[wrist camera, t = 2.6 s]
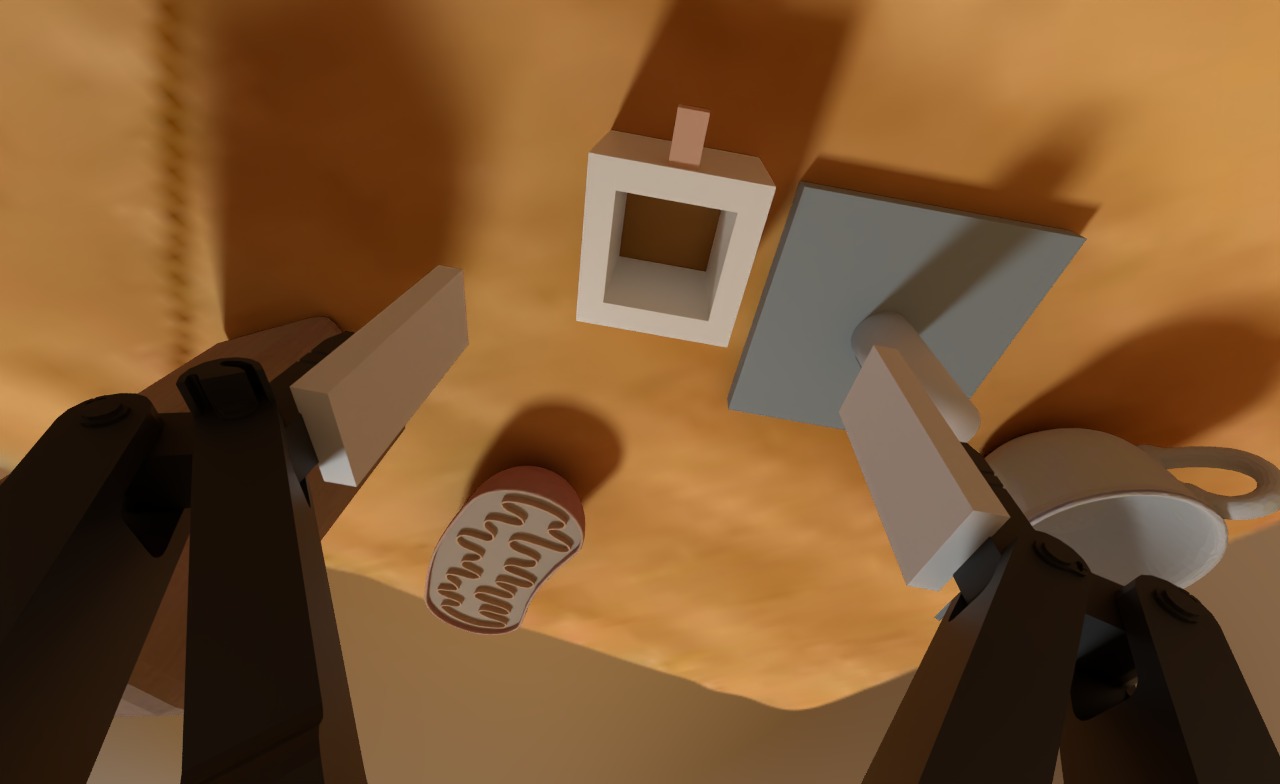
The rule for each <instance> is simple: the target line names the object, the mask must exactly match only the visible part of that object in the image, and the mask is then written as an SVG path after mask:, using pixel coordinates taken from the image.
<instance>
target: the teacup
mask: <svg viewBox="0 0 1280 784" xmlns="http://www.w3.org/2000/svg"><path fill="white" fill-rule="evenodd" d="M984 459H985V460H986V461H987V463H988V464H989V466H990V467H991V468H992V470H993V471H994V476H997V477H998V478H999V480H1000V481H1001V483H1002V484H1003V485H1004V486H1003V488H1005V489H1006V490H1007V491H1008V493H1009V494H1010V495H1011V497H1012V498H1013V500H1014V501H1015V502H1016V504H1017V505H1018V507H1019V508H1020V509H1021V511H1022V512H1023V514H1024V515H1025V517H1026V518H1027V519H1028V521H1029V522H1030V524H1031V525H1032V526H1033V528H1034V529H1035V530H1037V531H1041V532H1045V533H1047V534H1049V535H1051V536H1054V537H1056V538H1058V539H1060V540H1061V541H1062V542H1064V543H1065V544H1067V545H1068V546H1070V547H1071V548H1072V549H1074V550H1075V551H1076V552H1077V553H1078V554H1079V555H1080V556H1081V557H1082V558H1083V559H1084V561H1085V562H1086V564H1087V565H1088V567H1089V568H1090V570H1091V573H1094V574H1096V575H1099V576H1101V577H1103V578H1106V579H1108V580H1111V581H1113V582H1116V583H1118V584H1121V585H1123V586H1125V585H1127V584H1128V583H1130V582H1131V581H1132V580H1134V579H1135V578H1137V577H1138V576H1140V575H1153V576H1156V577H1158V578H1161V579H1164V580H1167V581H1169V582H1171V583H1172V584H1174V585H1176V586H1178V587H1181V588H1182V589H1184V588H1185V587H1187V586H1189V585H1191V584H1193V583H1194V582H1196V581H1197V580H1199V579H1200V578H1201V577H1203V576H1204V575H1206V574H1207V573H1208V572H1209V571H1210V570H1211V569H1213V568H1214V567H1215V565H1216V564H1217V563H1218V562H1219V561H1220V560H1221V558H1222V556H1223V555H1224V553H1225V550H1226V547H1227V543H1228V529H1227V525H1226V523H1225V522H1224V520H1223V519H1230V520H1239V519H1255V518H1260V517H1265V516H1267V515H1270V514H1272V513H1274V512H1277V511H1278V510H1279V509H1280V470H1279V469H1278V468H1277V467H1276V466H1275V465H1273V464H1272V463H1270V462H1268V461H1267V460H1265V459H1263V458H1261V457H1259V456H1257V455H1254V454H1252V453H1249V452H1245V451H1241V450H1237V449H1232V448H1222V447H1195V446H1190V447H1171V448H1160V447H1156V446H1152V445H1145V444H1141V445H1137V446H1135V445H1133V444H1131V443H1130V442H1128V441H1126V440H1124V439H1122V438H1119V437H1117V436H1115V435H1112V434H1109V433H1106V432H1102V431H1097V430H1091V429H1084V428H1059V429H1051V430H1045V431H1040V432H1035V433H1030V434H1026V435H1023V436H1020V437H1017V438H1015V439H1013V440H1010V441H1008V442H1006V443H1004V444H1003V445H1001V446H1000V447H998V448H997V449H995V450H994V451H993V452H992V453H990V454H989V455H988V456H987V457H985V458H984ZM1185 467H1209V468H1221V469H1227V470H1233V471H1237V472H1241V473H1243V474H1246V475H1248V476H1250V477H1252V478H1254V479H1255V480H1256V482H1257V488H1256V489H1255V490H1254V491H1252V492H1250V493H1248V494H1245V495H1239V496H1231V497H1229V496H1223V495H1217V494H1213V493H1210V492H1207V491H1205V490H1203V489H1201V488H1199V487H1197V486H1195V485H1193V484H1190V483H1183V482H1181V481H1179V480H1178V479H1176V478H1175V477H1174V476H1173V475H1172V474H1171V473H1170V472H1169V471H1167V470H1166V469H1173V468H1185Z"/></svg>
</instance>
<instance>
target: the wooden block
mask: <svg viewBox="0 0 1280 784" xmlns="http://www.w3.org/2000/svg"><path fill="white" fill-rule="evenodd" d="M340 333H342V332H341V330H340V329H339V327H338V326H337V325H336V324H335V323H334V322H333V321H331V320H330V319H329V318H327V317H313V318H308V319H304V320H301V321H297V322H293V323H290V324H286V325H282V326H279V327H275V328H272V329H268V330H264V331H261V332H257V333H254V334H250V335H246V336H243V337H239V338H235V339H232V340H228V341H225V342H221V343H218V344H216V345H214V346H213V347H211V348H210V349H208V350H206V351H205V352H203V353H202V354H200V355H198V356H197V357H195V358H194V359H192V360H190V361H189V362H187V363H186V364H184V365H183V366H181V367H179V368H178V369H176V370H175V371H173V372H171V373H170V374H168V375H167V376H165V377H163V378H162V379H160V380H159V381H157V382H155V383H154V384H152V385H151V386H149V387H147V388H146V389H144V390H143V391H141V392H140V393H138V394H139V395H142V396H146V397H147V398H148V399H149V400H150V401H151V402H152V404H153V405H154V407H155V409H156V410H157V412H158V413H180V412H190V410H189V408H188V406H187V404H186V402H185V401H184V399H183V397H182V395H181V393H180V391H179V390H178V388H177V386H176V382H177V380H178V378H179V376H180V375H182V374H183V373H184V372H186V371H187V370H188V369H190V368H192V367H194V366H197V365H199V364H201V363H204V362H207V361H211V360H216V359H220V358H231V357H240V358H249V359H252V360H255V361H257V362H259V363H260V364H261V365H262V367H263V369H264V371H265V374H266V376H267V379H268V381H269V382H271V381H272V380H273V379H274V378H276V377H277V376H278V375H280V374H281V373H282V372H284V371H285V370H286V369H287V368H289V367H290V366H291V365H293V364H294V363H295V362H299V361H300V358H302V357H303V356H304V355H306V354H307V353H308V352H310V353H311V350H312V349H313V348H315V347H316V346H317V345H319V344H320V343H321V342H323V341H324V340H325V339H327V338H330V337H332V336H335V335H337V334H340ZM404 429H405V426H404V427H403V429H402V430H401V431H400V432H399V434H398V435H397V436H396V437H395V439H394V440H393V441H392V443H391V444H390V445H389V446H388V448H387V449H386V450H385V451H384V453H383V454H382V455H381V457H380V458H379V459H378V460H377V462H376V463H375V464H374V465H373V467H372V468H371V469H370V471H369V472H368V473H367V474H366V476H365V477H364V478H363V479H362V481H361V482H360V483H359V485H358V486H357V487H354V486H348V485H343V484H337V483H332V482H326V481H324V479H323V477H322V474H321V471H320V468H319V466H318V464H317V465H316V466H315V467H314V468H313V469H312V470H311V471H310V472H309V473H308V474H307V476H306V477H307V480H308V482H309V485H310V489H311V494H312V499H313V505H314V510H315V515H316V520H317V526H318V531H319V536H320V541H321V540H322V538H323V537H324V536H325V534H326V533H327V532H328V530H329V529H330V528H331V526H332V525H333V524H334V522H335V521H336V520H337V518H338V517H339V516H340V514H341V513H342V512H343V510H344V509H345V508H346V506H347V505H348V504H349V502H350V501H351V500H352V498H353V497H354V496H355V494H356V493H357V492H358V490H359V489H360V488H361V486H362V485H363V484H364V482H365V481H366V480H367V478H368V477H369V476H370V474H371V473H372V472H373V470H374V469H375V468H376V466H377V465H378V464H379V462H380V461H381V460H382V458H383V457H384V456H385V454H386V453H387V452H388V450H389V449H390V448H391V446H392V445H393V444H394V443H395V441H396V440H397V439H398V437H399V436H400V435H401V433H402V432H403V431H404ZM9 475H10V474H9ZM9 475H7V476H6V477H4V478H3V479H1V480H0V485H1V484H2V483H3V482H4V481H5V479H6V478H7V477H8V476H9ZM189 545H190V534H189V536H188V539H187V541H186V544H185V546H184V548H183V551H182V553H181V556H180V558H179V561H178V563H177V565H176V568H175V570H174V573H173V575H172V577H171V580H170V582H169V585H168V587H167V590H166V592H165V594H164V597H163V599H162V602H161V604H160V606H159V609H158V611H157V614H156V616H155V619H154V621H153V623H152V626H151V628H150V631H149V633H148V635H147V638H146V640H145V643H144V645H143V648H142V650H141V652H140V655H139V657H138V660H137V662H136V664H135V667H134V669H133V672H132V674H131V677H130V679H129V681H128V684H127V686H126V689H125V691H124V693H123V696H122V698H121V701H120V703H119V706H118V708H117V710H116V713H115V715H114V717H132V716H133V717H134V716H168V715H179V714H181V713H183V712H184V693H185V663H186V634H187V604H188V575H189Z"/></svg>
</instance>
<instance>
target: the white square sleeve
mask: <svg viewBox="0 0 1280 784" xmlns="http://www.w3.org/2000/svg"><path fill="white" fill-rule="evenodd" d="M709 116H710V110H709V109H704V108H699V107H694V106H688V105H683V104H679V105H678V110H677V115H676V121H675V127H674V133H673V139H672V141H668V140H663V139H657V138H652V137H647V136H641V135H636V134H630V133H625V132H620V131H614V130H610V131H609V132H608V133H607V134H606V135H605V136H604V137H603V138H602V139H601V140H600V141H599V142H598V143H597V144H596V145H595V147H594V148H593V149H592V150H591V151H590V152H589V155H588V169H587V182H586V195H585V208H584V221H583V235H582V248H581V261H580V274H579V287H578V301H577V314H576V321H581V322H587V323H592V324H598V325H604V326H609V327H615V328H621V329H626V330H632V331H637V332H643V333H649V334H654V335H660V336H665V337H671V338H677V339H682V340H688V341H693V342H699V343H705V344H710V345H716V346H722V347H727V346H728V343H729V339H730V336H731V333H732V330H733V326H734V323H735V320H736V317H737V313H738V310H739V307H740V304H741V300H742V297H743V294H744V291H745V287H746V284H747V281H748V278H749V274H750V271H751V268H752V265H753V261H754V258H755V255H756V252H757V248H758V245H759V242H760V239H761V235H762V232H763V229H764V226H765V222H766V219H767V216H768V213H769V209H770V206H771V203H772V200H773V196H774V193H775V190H776V185H775V184H774V182H773V180H772V179H771V177H770V175H769V173H768V172H767V170H766V168H765V167H764V165H763V163H762V161H761V160H760V158H759V157H755V156H749V155H744V154H738V153H733V152H728V151H722V150H717V149H711V148H706V147H703V145H704V140H705V136H706V131H707V126H708V121H709ZM627 193H632V194H638V195H643V196H648V197H654V198H659V199H665V200H670V201H676V202H681V203H687V204H692V205H698V206H703V207H709V208H714V209H720V210H721V212H720V216H719V220H718V224H717V228H716V232H715V236H714V241H713V245H712V249H711V253H710V257H709V261H708V265H707V269H706V272H705V271H699V270H694V269H688V268H683V267H677V266H672V265H666V264H661V263H655V262H650V261H644V260H639V259H633V258H627V257H622V256H619V255H620V247H621V239H622V232H623V224H624V216H625V208H626V200H627Z"/></svg>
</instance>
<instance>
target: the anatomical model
mask: <svg viewBox="0 0 1280 784" xmlns="http://www.w3.org/2000/svg"><path fill="white" fill-rule="evenodd" d="M584 536H585V515H584V510H583V506H582V503H581V501H580V499H579V497H578V495H577V493H576V492H575V490H574V488H573V487H572V486H571V485H570V484H569V483H568V482H567V481H566V480H565V479H564V478H562V477H561V476H559V475H558V474H556V473H555V472H553V471H550V470H548V469H545V468H542V467H537V466H517V467H512V468H509V469H506V470H503V471H501V472H499V473H497V474H495V475H493V476H492V477H491V478H489V479H488V480H486V481H485V482H484V483H482V484H481V486H480V487H479V488H478V489H477V490H476V491H475V492H474V494H473V495H472V496H471V497H470V498H469V500H468V501H467V502H466V503H465V505H464V506H463V507H462V508H461V510H460V511H459V512H458V513H457V514H456V516H455V517H454V518H453V520H452V521H451V522H450V524H449V525H448V527H447V529H446V530H445V532H444V533H443V535H442V536H441V538H440V540H439V542H438V544H437V546H436V547H435V550H434V552H433V555H432V558H431V561H430V564H429V568H428V573H427V577H426V586H425V596H424V598H425V603H426V605H427V608H428V609H429V610H430V611H431V612H432V613H433V614H434V615H435V616H436V617H438V618H439V619H440V620H442V621H443V622H445V623H447V624H449V625H451V626H453V627H456V628H458V629H461V630H464V631H468V632H472V633H476V634H487V635H500V634H505V633H509V632H513V631H515V630H516V629H518V628H519V627H520V626H521V624H522V622H523V619H524V616H525V614H526V611H527V609H528V606H529V605H530V603H531V601H532V599H533V597H534V596H535V594H536V593H537V591H538V590H539V589H540V588H541V586H542V585H543V584H544V583H545V582H546V580H547V579H548V578H549V577H550V576H552V575H553V574H554V573H555V572H556V571H557V570H558V569H559V568H560V567H561V566H563V565H564V564H565V563H566V562H567V561H568V560H570V559H571V558H572V557H573V556H574V555H576V554H577V553H578V552H579V551H580V550H581V548H582V545H583V542H584Z"/></svg>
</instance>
